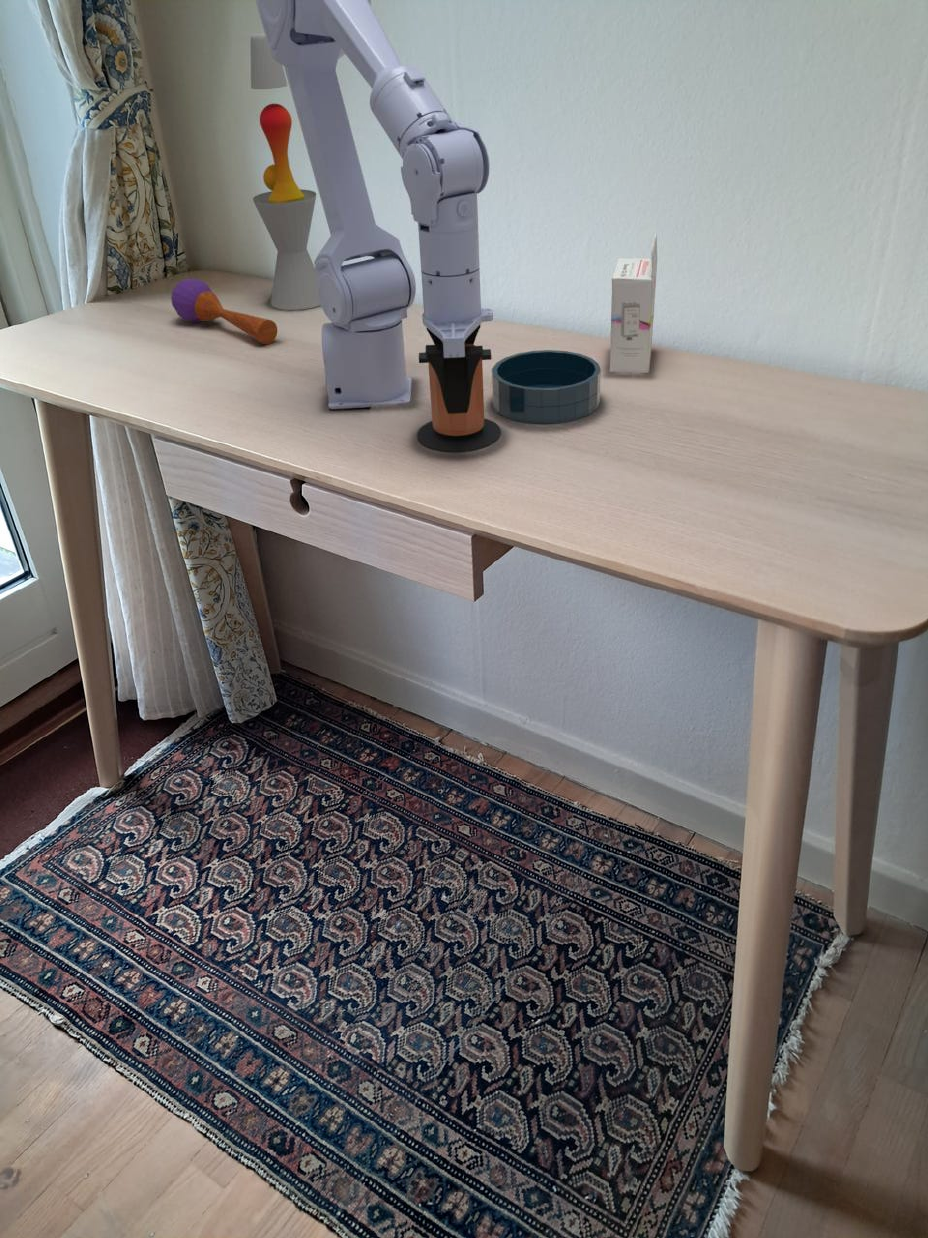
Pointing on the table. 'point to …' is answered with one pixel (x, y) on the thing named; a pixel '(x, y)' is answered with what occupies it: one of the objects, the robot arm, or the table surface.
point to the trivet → (459, 438)
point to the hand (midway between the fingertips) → (457, 400)
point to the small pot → (458, 421)
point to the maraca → (217, 310)
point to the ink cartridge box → (633, 312)
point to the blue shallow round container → (546, 387)
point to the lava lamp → (283, 194)
